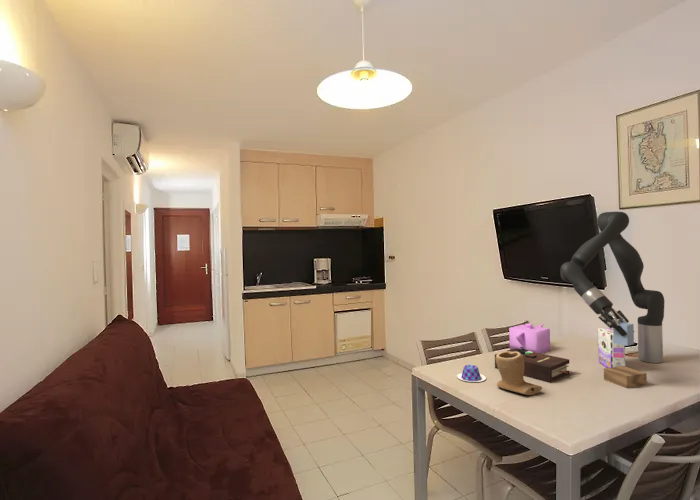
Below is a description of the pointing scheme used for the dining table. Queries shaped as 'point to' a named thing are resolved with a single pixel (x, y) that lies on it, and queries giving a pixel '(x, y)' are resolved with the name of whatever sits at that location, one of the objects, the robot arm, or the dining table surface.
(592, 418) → the dining table surface
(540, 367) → the decorative book
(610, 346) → the candy box
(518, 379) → the tan hollow piece
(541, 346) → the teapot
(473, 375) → the pudding
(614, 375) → the walnut block
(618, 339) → the slate-blue block
